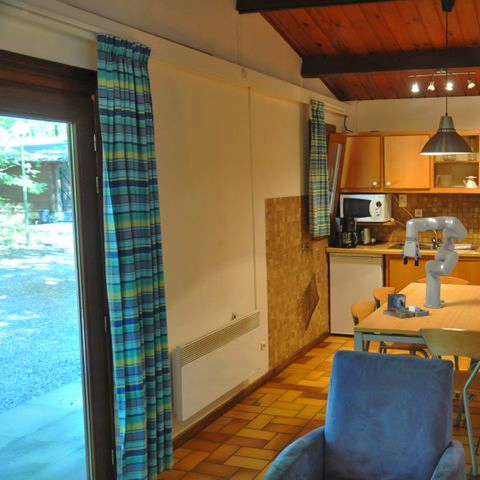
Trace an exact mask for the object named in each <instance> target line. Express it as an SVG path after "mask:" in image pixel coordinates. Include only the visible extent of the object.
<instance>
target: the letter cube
mask: <svg viewBox="0 0 480 480" xmlns="http://www.w3.org/2000/svg"><path fill="white" fill-rule="evenodd" d="M408 308H409V311H413V312H420V309H421V306H419V305H415V304H414V305H408Z"/></svg>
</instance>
